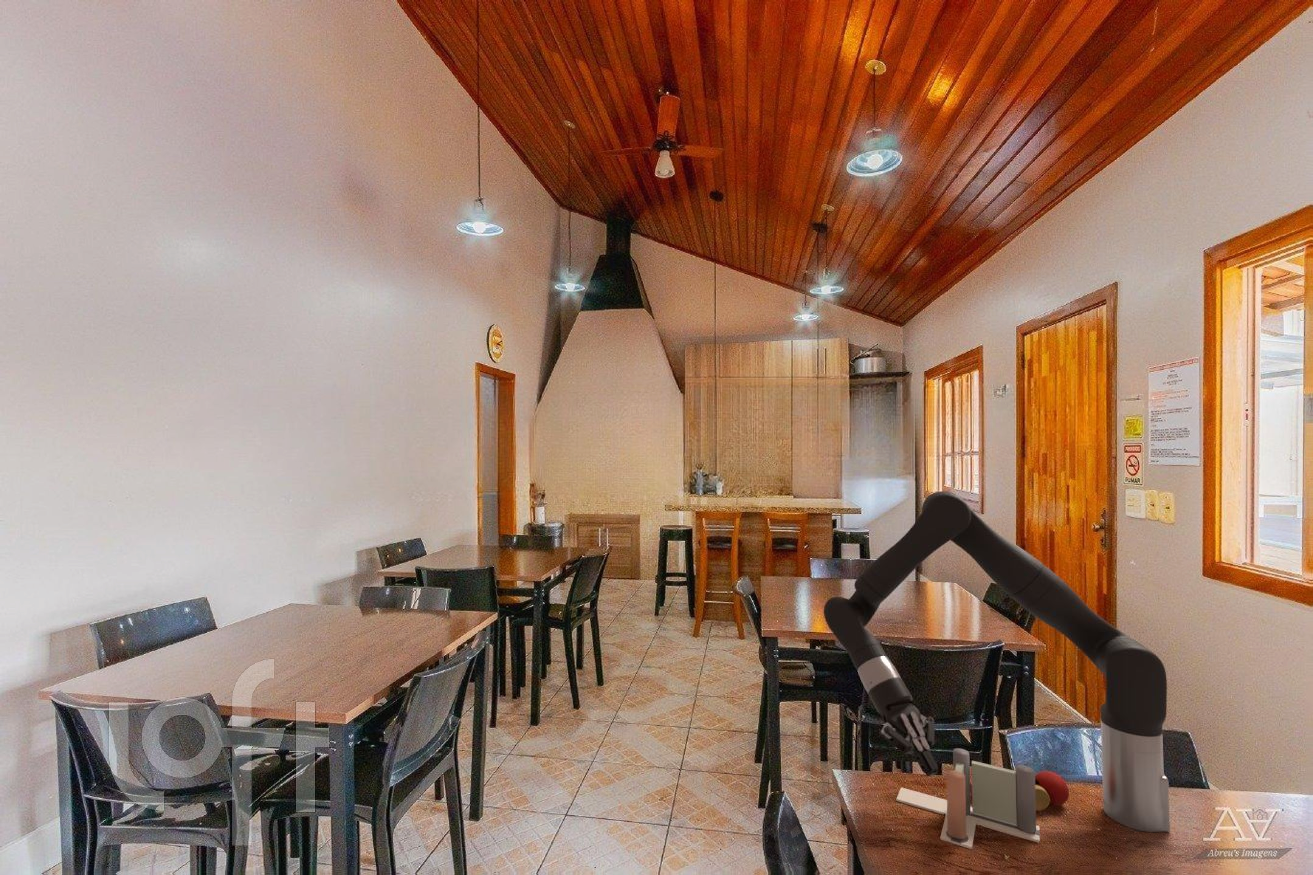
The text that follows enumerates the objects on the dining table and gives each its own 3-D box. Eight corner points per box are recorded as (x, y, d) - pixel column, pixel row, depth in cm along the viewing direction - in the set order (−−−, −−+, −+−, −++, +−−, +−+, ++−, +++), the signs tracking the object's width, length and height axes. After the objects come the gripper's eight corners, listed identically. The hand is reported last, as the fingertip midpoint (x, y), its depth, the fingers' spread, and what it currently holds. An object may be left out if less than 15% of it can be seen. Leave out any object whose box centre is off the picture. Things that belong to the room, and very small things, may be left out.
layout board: (1039, 828, 109) (1039, 825, 109) (1040, 870, 98) (1040, 867, 98) (901, 789, 122) (901, 786, 122) (887, 822, 111) (887, 820, 111)
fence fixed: (1036, 827, 109) (1034, 765, 109) (1036, 836, 106) (1034, 772, 107) (955, 804, 116) (954, 746, 116) (953, 812, 113) (952, 753, 114)
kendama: (984, 819, 114) (1082, 811, 113) (976, 783, 116) (1072, 774, 114) (968, 803, 122) (1060, 796, 120) (961, 770, 123) (1051, 762, 122)
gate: (952, 810, 113) (951, 755, 114) (970, 816, 112) (969, 759, 112) (946, 835, 106) (945, 775, 106) (965, 840, 104) (964, 780, 105)
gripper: (867, 680, 118) (917, 773, 106) (917, 671, 123) (970, 759, 111) (849, 697, 122) (895, 788, 110) (898, 688, 127) (947, 774, 115)
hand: (933, 773), depth 111 cm, fingers closed
